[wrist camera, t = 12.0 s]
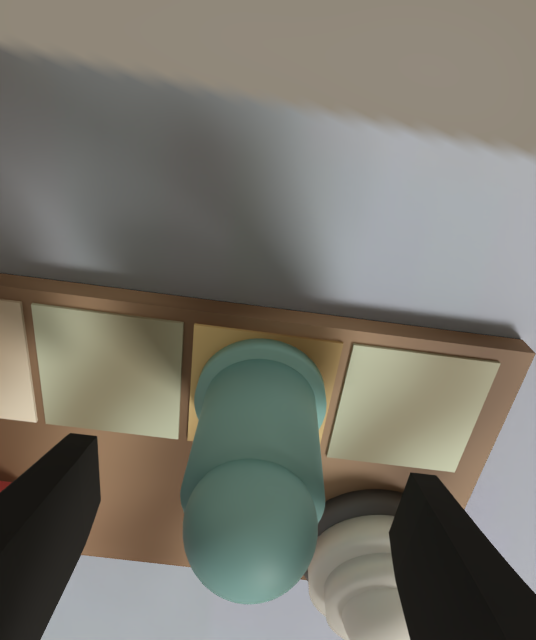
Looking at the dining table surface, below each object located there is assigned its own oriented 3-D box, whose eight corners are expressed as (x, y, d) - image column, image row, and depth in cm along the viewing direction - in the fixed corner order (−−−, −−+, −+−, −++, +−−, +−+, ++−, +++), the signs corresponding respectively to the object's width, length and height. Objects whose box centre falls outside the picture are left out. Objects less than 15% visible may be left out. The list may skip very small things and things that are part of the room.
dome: (298, 594, 17) (300, 693, 14) (319, 507, 15) (327, 603, 12) (420, 607, 17) (447, 709, 14) (459, 523, 15) (499, 623, 12)
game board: (-79, 517, 18) (-108, 552, 17) (-163, 252, 13) (-215, 271, 12) (420, 574, 18) (431, 611, 17) (522, 339, 13) (548, 367, 12)
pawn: (217, 450, 15) (178, 658, 9) (181, 351, 13) (108, 534, 8) (334, 432, 14) (364, 641, 9) (312, 327, 13) (332, 504, 7)
